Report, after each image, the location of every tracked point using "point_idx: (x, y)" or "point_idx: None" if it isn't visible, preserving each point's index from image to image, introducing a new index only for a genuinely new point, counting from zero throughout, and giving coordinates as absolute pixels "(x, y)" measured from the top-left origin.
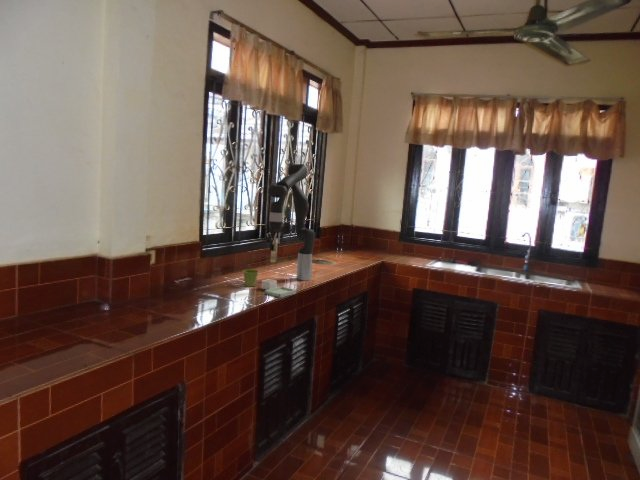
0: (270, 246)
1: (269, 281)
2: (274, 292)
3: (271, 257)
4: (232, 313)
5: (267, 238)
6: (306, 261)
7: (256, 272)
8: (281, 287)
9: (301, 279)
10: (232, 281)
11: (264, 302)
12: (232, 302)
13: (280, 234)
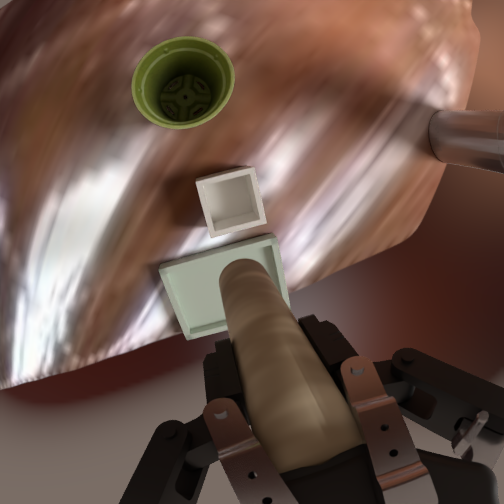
0: (207, 391)
1: (249, 177)
2: (179, 313)
3: (223, 307)
4: (19, 377)
5: (137, 497)
6: (495, 167)
7: (227, 80)
8: (266, 245)
9: (433, 147)
10: (159, 12)
11: (110, 352)
12: (24, 309)
13: (459, 452)
